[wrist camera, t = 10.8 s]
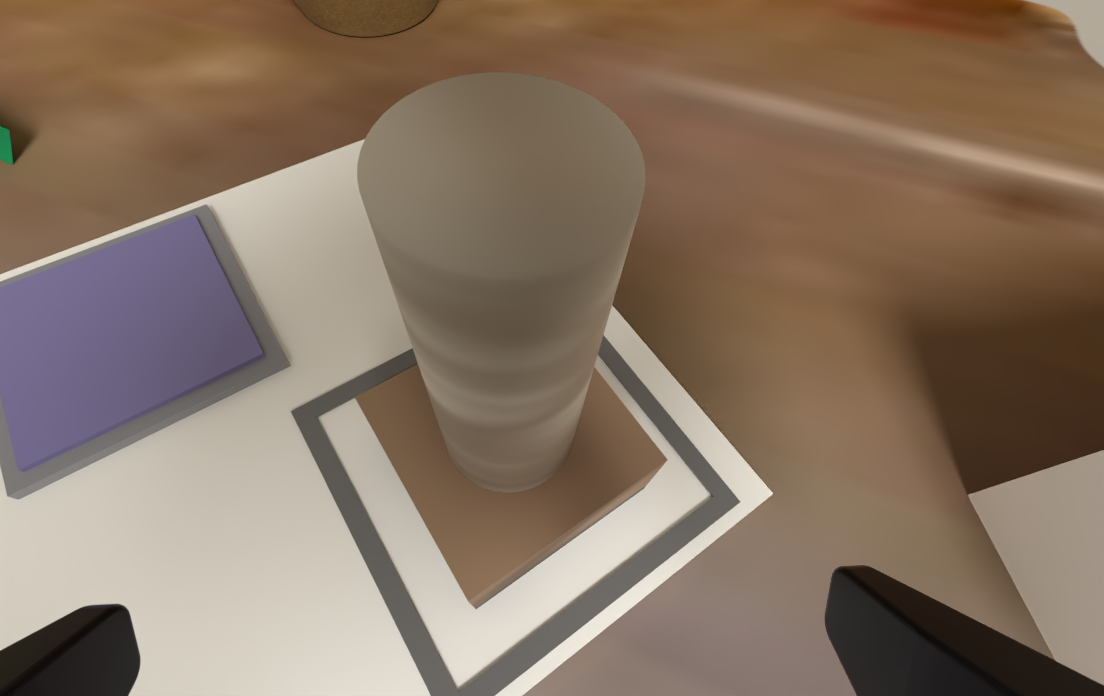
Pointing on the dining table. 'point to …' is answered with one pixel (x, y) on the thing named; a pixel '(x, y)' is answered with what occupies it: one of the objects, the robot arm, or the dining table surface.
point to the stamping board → (289, 464)
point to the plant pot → (366, 15)
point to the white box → (1055, 554)
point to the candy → (5, 145)
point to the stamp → (505, 315)
